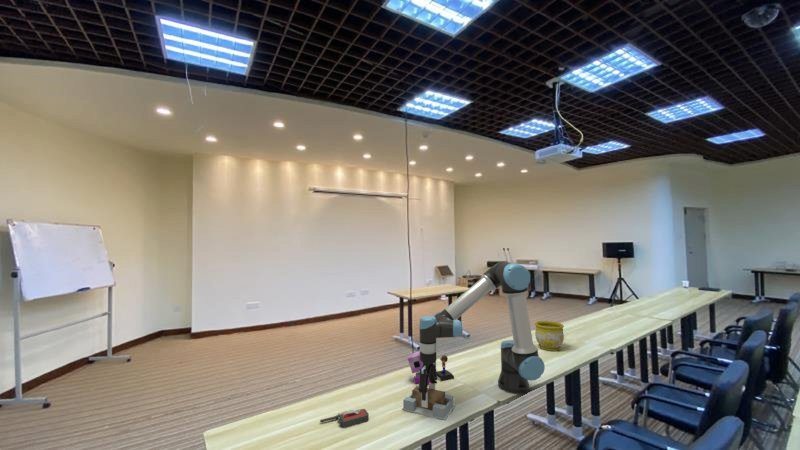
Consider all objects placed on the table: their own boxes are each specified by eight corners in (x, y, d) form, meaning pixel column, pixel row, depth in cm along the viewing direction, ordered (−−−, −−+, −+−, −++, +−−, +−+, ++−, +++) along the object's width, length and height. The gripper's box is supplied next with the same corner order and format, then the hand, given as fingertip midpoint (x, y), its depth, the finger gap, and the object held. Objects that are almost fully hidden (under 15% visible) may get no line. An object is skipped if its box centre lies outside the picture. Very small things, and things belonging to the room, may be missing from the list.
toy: (430, 384, 177) (421, 355, 179) (416, 387, 179) (407, 359, 181) (433, 376, 188) (424, 349, 190) (419, 380, 189) (410, 353, 191)
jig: (454, 406, 156) (454, 396, 156) (445, 420, 144) (444, 409, 144) (414, 397, 165) (414, 387, 165) (402, 409, 153) (402, 399, 153)
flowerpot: (569, 352, 225) (568, 327, 226) (541, 352, 226) (541, 327, 226) (557, 343, 243) (556, 320, 244) (531, 344, 244) (531, 320, 244)
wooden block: (445, 407, 154) (445, 388, 154) (441, 412, 149) (441, 393, 149) (416, 401, 160) (416, 383, 160) (412, 405, 155) (412, 387, 156)
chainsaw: (364, 411, 152) (319, 423, 143) (364, 401, 152) (319, 412, 143) (371, 421, 145) (324, 434, 136) (371, 410, 145) (324, 422, 136)
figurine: (433, 376, 189) (433, 354, 190) (446, 373, 193) (446, 352, 193) (440, 381, 182) (440, 358, 183) (454, 378, 186) (453, 356, 186)
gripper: (429, 343, 166) (429, 391, 166) (410, 357, 147) (411, 411, 147) (443, 345, 163) (444, 394, 162) (426, 360, 144) (427, 415, 143)
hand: (428, 402), depth 155 cm, fingers open, 8 cm apart
